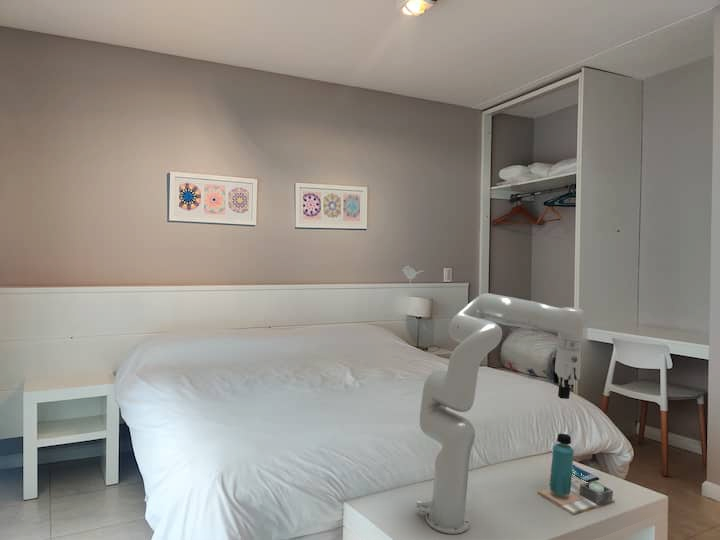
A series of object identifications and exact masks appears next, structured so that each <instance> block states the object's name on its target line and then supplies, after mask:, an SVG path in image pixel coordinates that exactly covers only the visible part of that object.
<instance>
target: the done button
mask: <svg viewBox="0 0 720 540" xmlns="http://www.w3.org/2000/svg"><path fill="white" fill-rule="evenodd" d="M597 483H598V482H597ZM597 483H590V484H589V488H590V489H592V490H594V491H596V492H597V493H600V492H603V491H604V487H603V486H604V485H603V484H601V483H599V484H597ZM600 484H601V485H600ZM602 485H603V486H602Z"/></svg>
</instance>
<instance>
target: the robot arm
mask: <svg viewBox="0 0 720 540" xmlns="http://www.w3.org/2000/svg"><path fill="white" fill-rule="evenodd" d="M585 323H586V322H585V311H584V310H583V309H582V308H577V307H570V306H565V307H556V306H552V305H549V304H545V303H542V302H537V301H532V300H527V299H523V298H522V299H521V298H517V297H513V296H506V295H500V294H495V293H487V292H485V293H482V294H479V295H478V296H477V297H474V299H472V300H471V301H470V302H469V303H467V305H465V306H464V307H463V308H462V309H461V310H460V311H458V312H457V313H456V314H455V315H454V316H453V317H452V319H451V321H450V322H449V326H448V333H449V336H450V337H451V339H453V341H455V342H456V343H459V344H458V345H457V346H456V347H455V348H454V349H453V351H452V352H451V354H450V356H449V360H448V365H447V370H443V369H436V370H433V371H432V372H431V373H430V374H429V375H428V376H427V377H426V380H425V382H424V384H423V389H422V394H421V395H422V397H421V405H420V413H419V427H420V429H421V431H422V433H423V434H424V435H425V436H427V437H428V438H430V439H432V440H434V441H436V442H437V443H438V444H440V445H441V446H442V447H441V449H440V451H439V452H438V453H437V455H436V457H435V463H434V475H433V489H432V499H431V501H429V500H428V502H427V501H423V500H419V499H417V500H416V508H419V512H420V513H421V512H422V513H425V521H426V523H427V524H428V526H429V527H431V529H434V530H435V531H438V532H441V533H445V534H450V535H458V534H462V533H464V532H466V531H467V530H469V528H470V523H471V521H470V518H469V516H468V515H467V514H466V505H467V492H468V480H469V468H470V460H471V453H472V450H473V446H474V442H475V439H476V429H475V427H474V425H473V424H472V422H471V421H469V420H468V419H467V418H465V417H464V416H462V415H460V414H458V413H466V412H469V411H470V410H471V409H472V407H473V406H474V405H473V404H474V402H475V396H476V389H477V381H478V376H479V375H478V373H479V369H480V366H481V363H482V361H483V359H484V358H485V357H487V355H488V354H489V353H490V352H491V351H492V350H494V349H495V348H497V346H498V345H500V342H501V341H502V338H503V330H502V327H501V326H500V325H503V326H504V325H505V326H510V327H516V328H517V327H519V328H525V329H530V330H535V331H536V330H537V331H544V332H545V331H547V332H554V333H557V341H556V348H557V350H556V356H555V362H554V373H555V374H556V375H557V377H558V385H559V386H558V392H557V397H558V398H559V399H562V400H563V399H564V400H565V399H566V400H568V399H570V397H571V396H570V394H571V388H572V386H573V385H575V381H578V382H579V381H580V378H581V368H582V361H581V360H582V358H581V355H582V354H581V351H582V342H583V341H582V340H583V330H584V327H585ZM499 324H500V325H499ZM447 408H449V409H447ZM451 410H452V411H451ZM454 411H456V412H458V413H455V412H454Z"/></svg>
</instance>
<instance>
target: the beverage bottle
mask: <svg viewBox="0 0 720 540" xmlns="http://www.w3.org/2000/svg"><path fill="white" fill-rule="evenodd" d="M556 441H557V442H558V443H556V444H554V445H553V446H552V459H551V466H550V468H551V469H550V478H549V484H548V485H549V488H550V490H551V491H552V492H554V493H556V494H558V495H569V494H570V489H571V483H572V482H573V481H572V478H573V477H572V476H573V475H572V472H573V471H572V470H573V469H572V465H574V464H573V462H574V460H573V459H574V452H575V451H574V449H573V448H572V447H571V446H570V444H572V438H571V435H569V434H566V433H558V435H557V439H556Z"/></svg>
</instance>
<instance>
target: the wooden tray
mask: <svg viewBox="0 0 720 540" xmlns="http://www.w3.org/2000/svg"><path fill="white" fill-rule="evenodd" d="M590 483H597V484H600V485H602V486H603V487H604V491H603V492H600V493H597V492H596V491H594V490H592V489H590V488H589V484H590ZM570 493H571V494H573V495H574V496H576V497H578V498H580V499H581V500H579V501H576V502H572V503H569V504H566V505H563V506H561V505H559V504H557V503H556V502H554V501H552V500H551V499H549V498H547V497H546V496H544V495H542V494H541V493H539V491H537V495H539V496H541V497H543V498H544V499H546V500H548V501H550V502H551V503H553V504H554V505H556V506H558V507H559V508H561V509H562V510H564V511H566V512H568V513H569V514H571V515H572V516H576V515H579V514H582V513H585V512H588V511H591V510H594V509H597V508H600V507H604V506H606V505H610V504H613V503H615V501H616V500H615V499H614V498H613V495H614V490H613V489H611V488H609V487H607V486H605V485H603V484H601V483H599V482H597V481H592V482H588V483H586V482H584V483H583V481H581V480H576V481H572V483H571V489H570Z"/></svg>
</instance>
